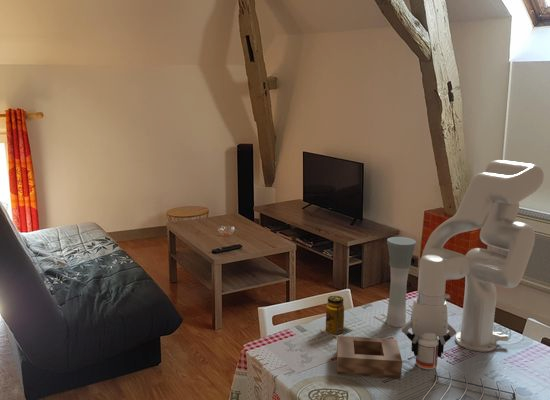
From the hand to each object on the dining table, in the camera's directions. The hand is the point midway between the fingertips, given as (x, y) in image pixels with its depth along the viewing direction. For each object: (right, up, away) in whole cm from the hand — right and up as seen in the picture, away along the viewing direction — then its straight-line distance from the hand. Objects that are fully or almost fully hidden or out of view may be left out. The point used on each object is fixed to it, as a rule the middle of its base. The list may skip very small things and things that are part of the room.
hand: (426, 353), depth 153 cm
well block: (-18, -4, +1) cm, 18 cm away
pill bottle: (0, -4, +1) cm, 4 cm away
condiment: (-24, +1, +23) cm, 33 cm away
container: (-2, +2, +29) cm, 29 cm away
